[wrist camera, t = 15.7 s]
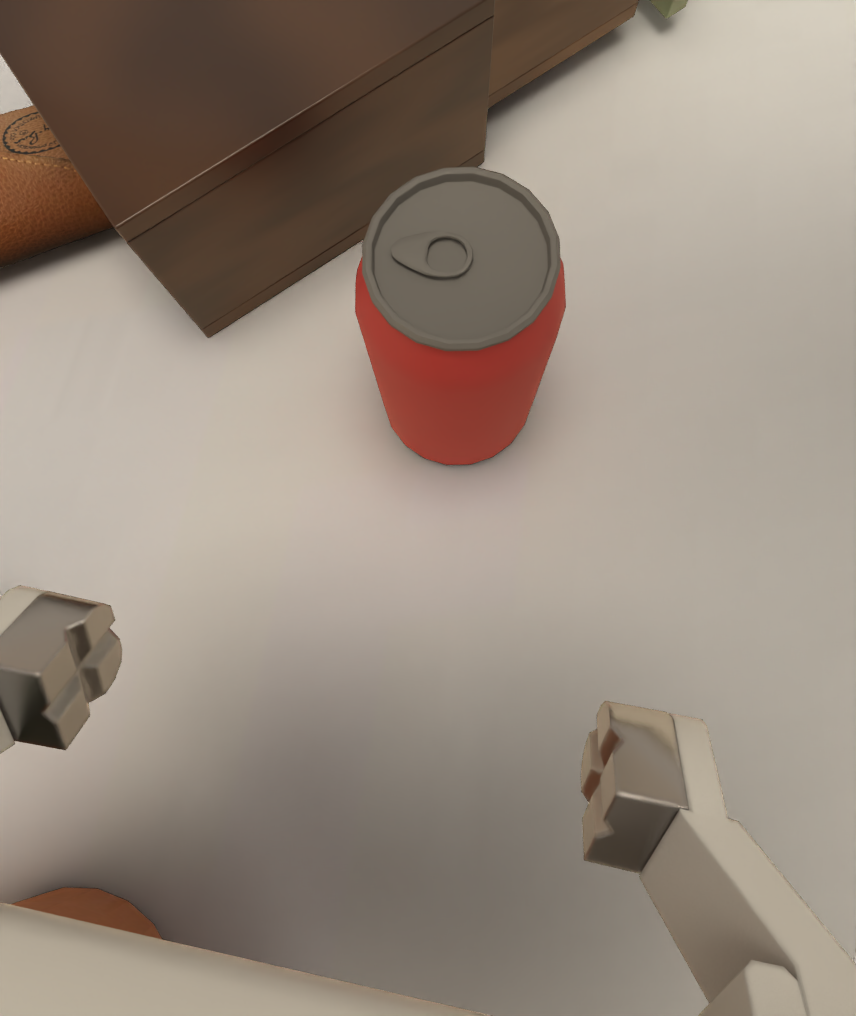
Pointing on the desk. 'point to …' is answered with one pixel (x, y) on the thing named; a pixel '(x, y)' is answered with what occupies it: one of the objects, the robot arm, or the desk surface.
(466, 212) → the beer can
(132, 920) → the potted plant
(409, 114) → the cabinet
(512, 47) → the drawer
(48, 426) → the desk surface
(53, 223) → the sunglasses case
